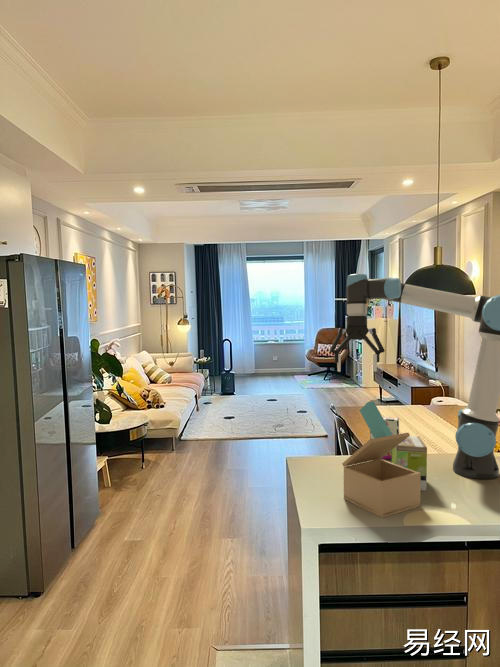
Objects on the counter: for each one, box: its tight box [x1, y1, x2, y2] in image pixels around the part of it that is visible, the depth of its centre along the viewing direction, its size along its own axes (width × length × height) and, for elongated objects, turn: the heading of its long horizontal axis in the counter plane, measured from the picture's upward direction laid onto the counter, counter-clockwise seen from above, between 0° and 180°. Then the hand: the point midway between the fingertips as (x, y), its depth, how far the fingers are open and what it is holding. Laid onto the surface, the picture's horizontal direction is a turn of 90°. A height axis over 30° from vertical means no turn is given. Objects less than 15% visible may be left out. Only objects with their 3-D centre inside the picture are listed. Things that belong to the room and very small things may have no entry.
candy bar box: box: [369, 416, 400, 461], centre depth 182 cm, size 11×5×16 cm, turn 68°
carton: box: [343, 459, 421, 518], centre depth 137 cm, size 16×16×10 cm
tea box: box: [390, 435, 428, 492], centre depth 154 cm, size 15×10×15 cm, turn 168°
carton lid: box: [341, 401, 411, 467], centre depth 142 cm, size 16×16×13 cm
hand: (356, 371), depth 169 cm, fingers open, 13 cm apart
